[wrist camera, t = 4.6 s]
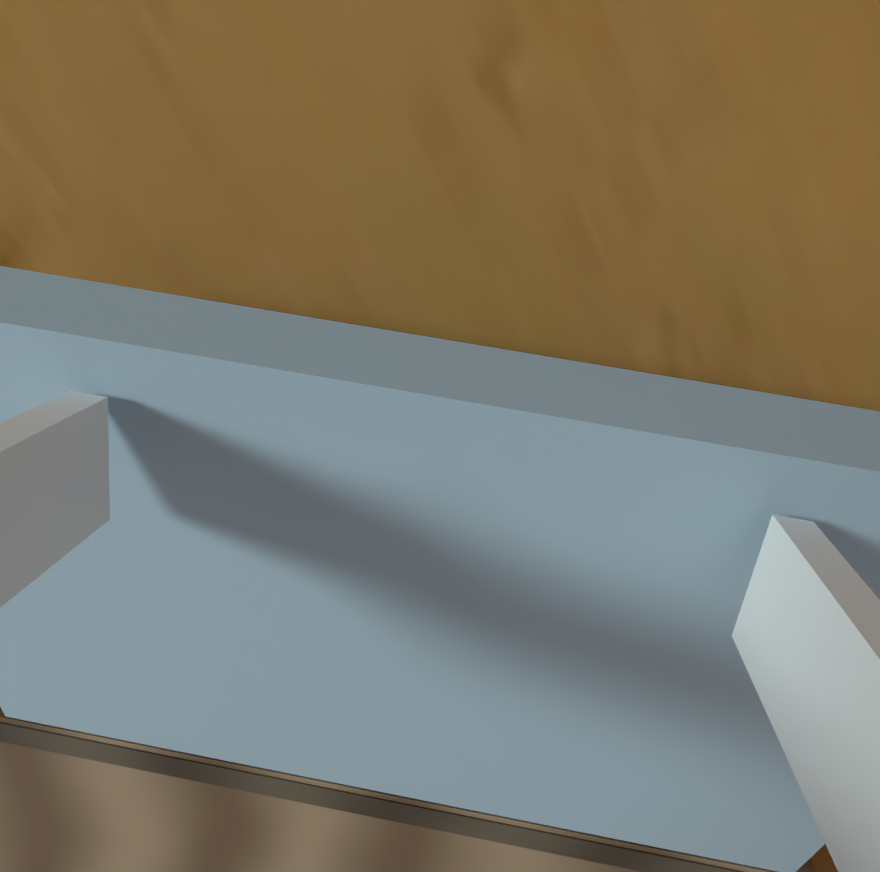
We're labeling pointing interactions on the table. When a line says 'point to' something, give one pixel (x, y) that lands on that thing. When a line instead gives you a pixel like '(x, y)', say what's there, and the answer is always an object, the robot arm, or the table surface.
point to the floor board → (261, 819)
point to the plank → (426, 564)
